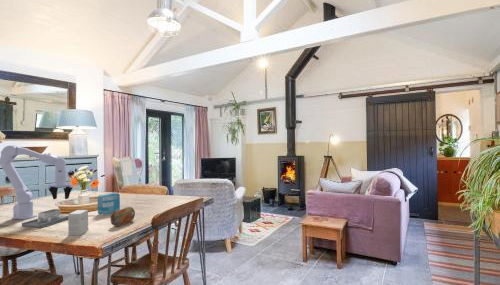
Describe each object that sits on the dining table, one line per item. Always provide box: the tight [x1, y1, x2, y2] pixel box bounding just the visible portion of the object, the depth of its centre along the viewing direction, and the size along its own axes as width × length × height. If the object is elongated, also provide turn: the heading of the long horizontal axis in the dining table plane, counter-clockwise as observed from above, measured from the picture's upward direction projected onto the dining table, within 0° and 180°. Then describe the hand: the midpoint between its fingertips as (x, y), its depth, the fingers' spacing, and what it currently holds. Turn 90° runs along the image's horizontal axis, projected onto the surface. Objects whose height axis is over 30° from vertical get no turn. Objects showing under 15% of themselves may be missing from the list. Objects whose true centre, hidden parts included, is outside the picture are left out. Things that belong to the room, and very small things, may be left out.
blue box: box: [97, 192, 121, 216], centre depth 173 cm, size 12×4×12 cm, turn 146°
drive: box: [37, 208, 61, 223], centre depth 154 cm, size 4×9×5 cm, turn 166°
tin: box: [110, 206, 136, 227], centre depth 149 cm, size 15×3×8 cm, turn 160°
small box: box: [67, 209, 89, 237], centre depth 135 cm, size 8×6×10 cm
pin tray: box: [21, 214, 68, 229], centre depth 154 cm, size 13×20×3 cm, turn 166°
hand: (60, 198), depth 172 cm, fingers open, 7 cm apart
